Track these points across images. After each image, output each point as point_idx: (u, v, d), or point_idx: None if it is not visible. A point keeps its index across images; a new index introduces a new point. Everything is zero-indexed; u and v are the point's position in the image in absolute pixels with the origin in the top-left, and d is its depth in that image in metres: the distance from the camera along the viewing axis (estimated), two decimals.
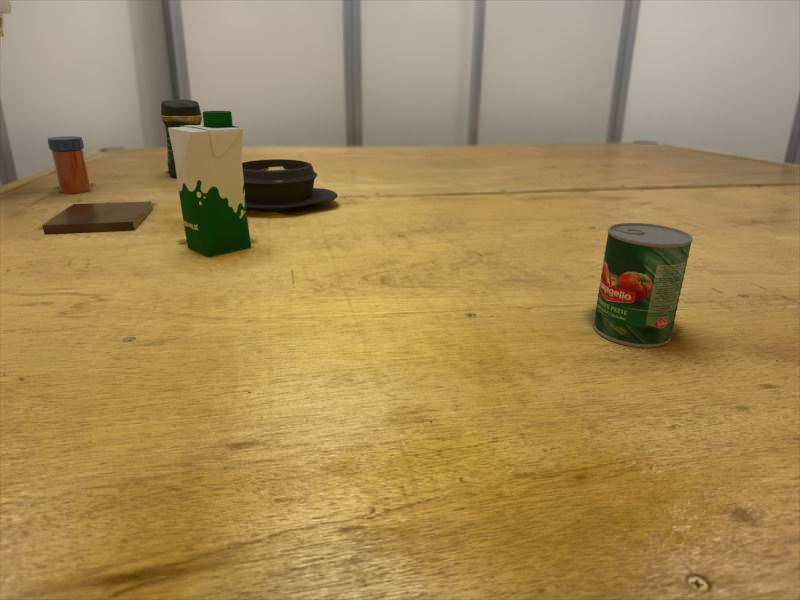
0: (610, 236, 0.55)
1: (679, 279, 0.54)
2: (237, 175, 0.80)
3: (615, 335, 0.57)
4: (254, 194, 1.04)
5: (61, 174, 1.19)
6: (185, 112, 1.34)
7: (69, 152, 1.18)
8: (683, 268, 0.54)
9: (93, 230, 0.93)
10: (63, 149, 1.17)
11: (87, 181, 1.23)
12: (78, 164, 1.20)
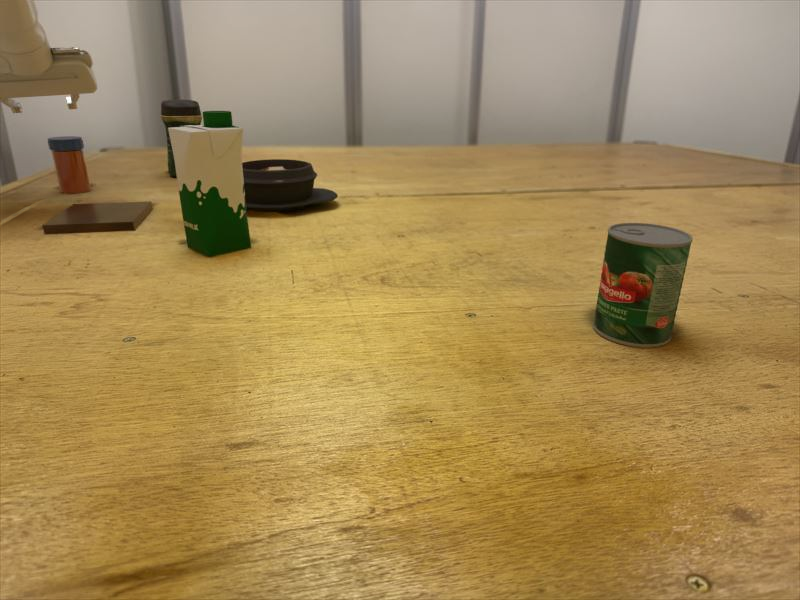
0: (610, 236, 0.55)
1: (679, 279, 0.54)
2: (237, 175, 0.80)
3: (615, 335, 0.57)
4: (254, 194, 1.04)
5: (61, 174, 1.19)
6: (185, 112, 1.34)
7: (69, 152, 1.18)
8: (683, 268, 0.54)
9: (93, 230, 0.93)
10: (63, 149, 1.17)
11: (87, 181, 1.23)
12: (78, 164, 1.20)
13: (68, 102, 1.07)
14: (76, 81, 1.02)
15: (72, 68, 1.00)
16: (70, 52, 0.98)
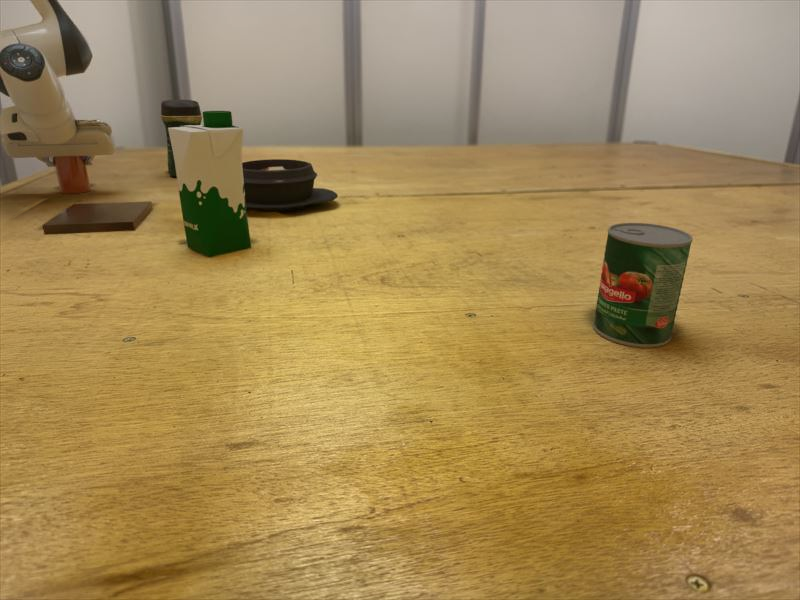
0: (610, 236, 0.55)
1: (679, 279, 0.54)
2: (237, 175, 0.80)
3: (615, 335, 0.57)
4: (254, 194, 1.04)
5: (61, 174, 1.19)
6: (185, 112, 1.34)
7: None
8: (683, 268, 0.54)
9: (93, 230, 0.93)
10: None
11: (87, 181, 1.23)
12: (78, 164, 1.20)
13: (85, 160, 1.21)
14: (96, 146, 1.16)
15: (93, 136, 1.14)
16: (92, 124, 1.12)
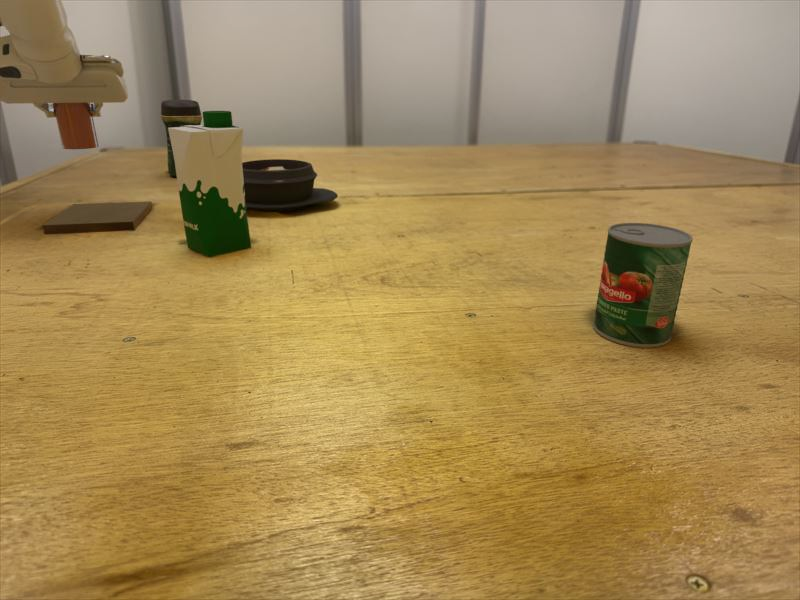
0: (610, 236, 0.55)
1: (679, 279, 0.54)
2: (237, 175, 0.80)
3: (615, 335, 0.57)
4: (254, 194, 1.04)
5: (63, 125, 1.00)
6: (185, 112, 1.34)
7: None
8: (683, 268, 0.54)
9: (93, 230, 0.93)
10: None
11: (94, 135, 1.03)
12: (83, 113, 1.00)
13: (91, 109, 1.02)
14: (105, 89, 0.97)
15: (102, 76, 0.94)
16: (100, 60, 0.93)
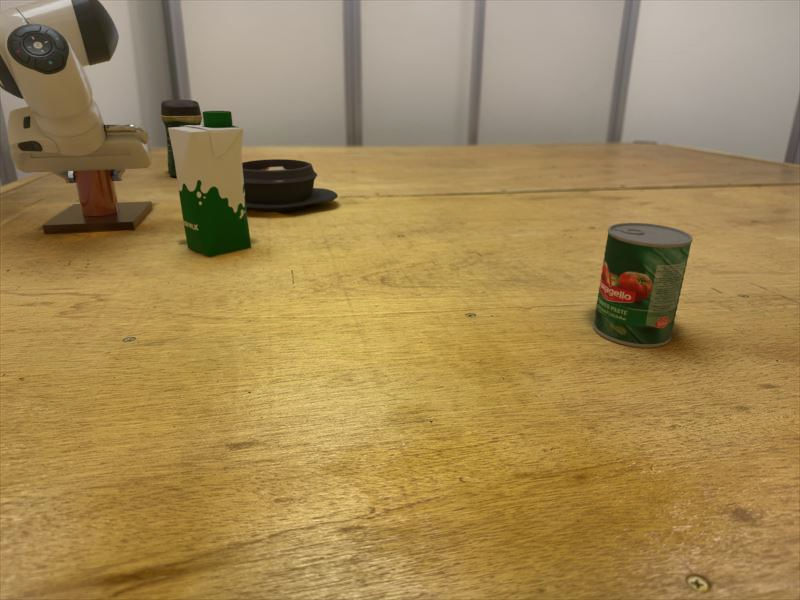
0: (610, 236, 0.55)
1: (679, 279, 0.54)
2: (237, 175, 0.80)
3: (615, 335, 0.57)
4: (254, 194, 1.04)
5: (83, 192, 0.95)
6: (185, 112, 1.34)
7: None
8: (683, 268, 0.54)
9: (93, 230, 0.93)
10: None
11: (115, 200, 0.99)
12: (105, 179, 0.96)
13: (113, 174, 0.97)
14: (129, 157, 0.92)
15: (126, 146, 0.89)
16: (125, 130, 0.88)
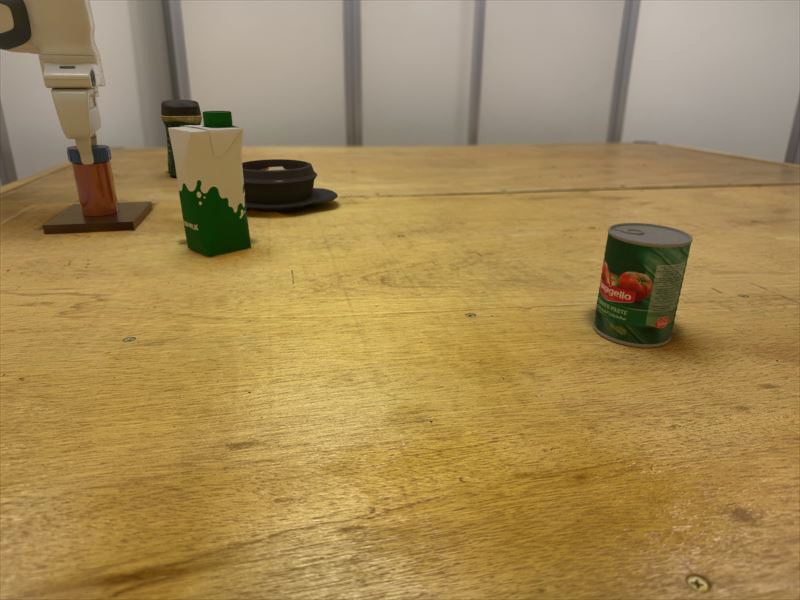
0: (610, 236, 0.55)
1: (679, 279, 0.54)
2: (237, 175, 0.80)
3: (615, 335, 0.57)
4: (254, 194, 1.04)
5: (83, 192, 0.95)
6: (185, 112, 1.34)
7: (94, 164, 0.94)
8: (683, 268, 0.54)
9: (93, 230, 0.93)
10: None
11: (115, 200, 0.99)
12: (105, 179, 0.96)
13: None
14: (96, 109, 0.99)
15: None
16: None
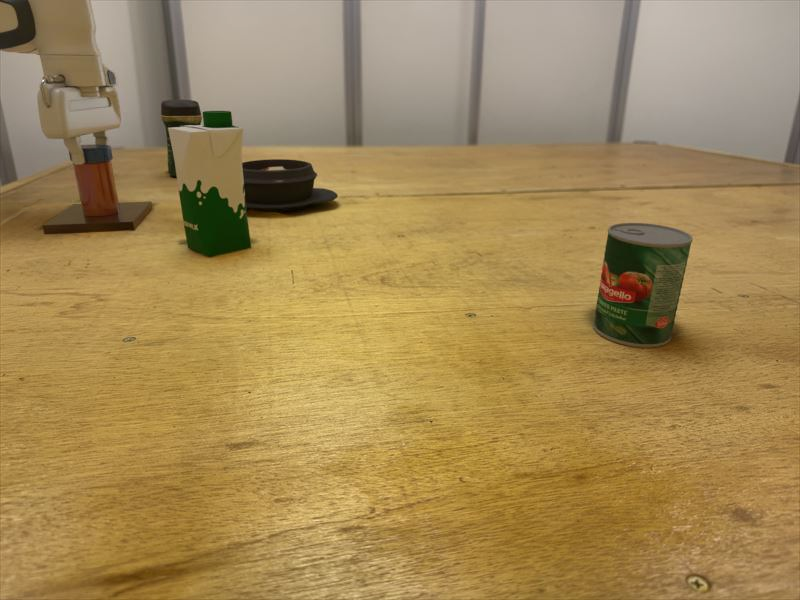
0: (610, 236, 0.55)
1: (679, 279, 0.54)
2: (237, 175, 0.80)
3: (615, 335, 0.57)
4: (254, 194, 1.04)
5: (85, 192, 0.95)
6: (185, 112, 1.34)
7: (96, 164, 0.94)
8: (683, 268, 0.54)
9: (93, 230, 0.93)
10: None
11: (116, 200, 0.99)
12: (107, 179, 0.96)
13: None
14: None
15: None
16: None
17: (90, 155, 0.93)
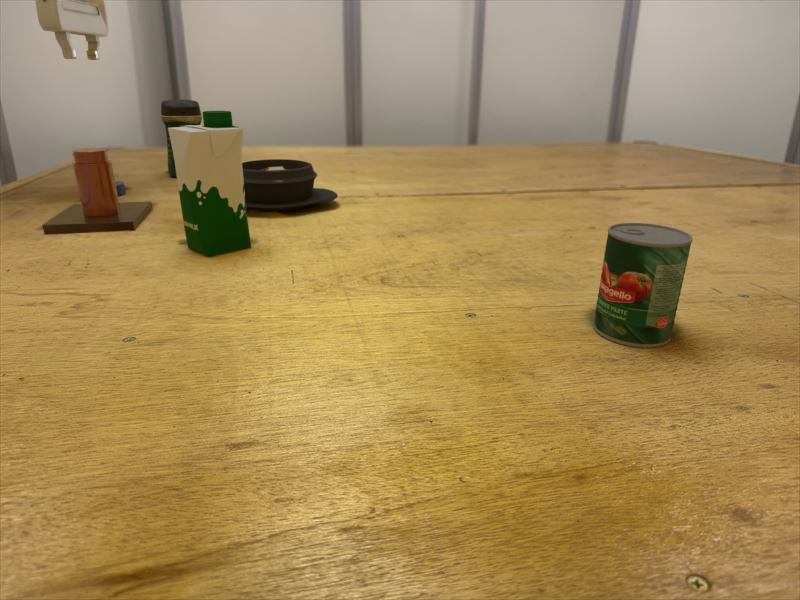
0: (610, 236, 0.55)
1: (679, 279, 0.54)
2: (237, 175, 0.80)
3: (615, 335, 0.57)
4: (254, 194, 1.04)
5: (85, 192, 0.95)
6: (185, 112, 1.34)
7: (96, 164, 0.94)
8: (683, 268, 0.54)
9: (93, 230, 0.93)
10: None
11: (116, 200, 0.99)
12: (107, 179, 0.96)
13: None
14: None
15: None
16: None
17: None
